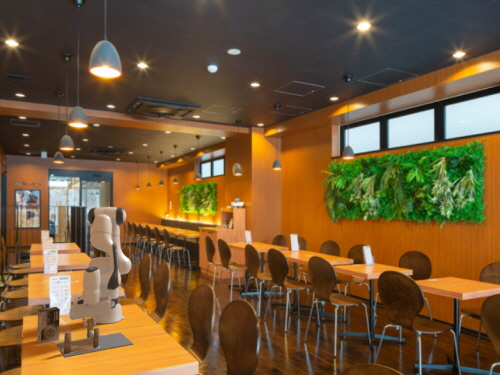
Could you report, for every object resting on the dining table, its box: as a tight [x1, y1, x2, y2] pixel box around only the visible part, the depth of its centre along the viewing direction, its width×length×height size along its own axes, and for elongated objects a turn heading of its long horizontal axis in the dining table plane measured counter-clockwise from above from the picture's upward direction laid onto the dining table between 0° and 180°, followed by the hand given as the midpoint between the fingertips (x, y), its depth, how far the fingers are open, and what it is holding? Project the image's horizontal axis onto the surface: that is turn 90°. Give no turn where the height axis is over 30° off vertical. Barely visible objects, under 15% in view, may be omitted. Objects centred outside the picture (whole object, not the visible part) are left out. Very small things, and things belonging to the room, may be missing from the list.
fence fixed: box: [63, 327, 100, 354], centre depth 187 cm, size 3×16×9 cm, turn 125°
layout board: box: [56, 332, 134, 358], centre depth 196 cm, size 22×32×1 cm
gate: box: [86, 318, 94, 345], centre depth 198 cm, size 3×14×10 cm, turn 34°
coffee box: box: [36, 306, 61, 344], centre depth 203 cm, size 9×6×16 cm
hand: (90, 325), depth 203 cm, fingers open, 3 cm apart
